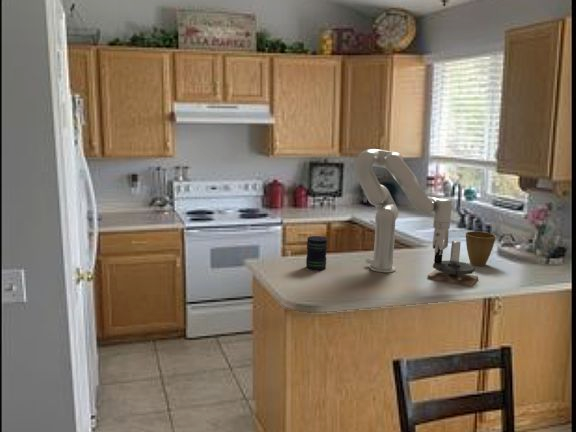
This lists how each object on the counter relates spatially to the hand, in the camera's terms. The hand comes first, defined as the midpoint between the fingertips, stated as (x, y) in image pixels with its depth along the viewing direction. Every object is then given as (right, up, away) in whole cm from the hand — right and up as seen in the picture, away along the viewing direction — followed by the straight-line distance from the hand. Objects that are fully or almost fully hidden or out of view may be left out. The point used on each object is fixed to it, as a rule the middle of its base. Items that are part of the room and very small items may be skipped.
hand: (437, 262), depth 269 cm
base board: (+6, -8, -3) cm, 10 cm away
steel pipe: (+6, -6, -3) cm, 9 cm away
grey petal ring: (+7, -3, -4) cm, 8 cm away
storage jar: (-58, -4, +7) cm, 58 cm away
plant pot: (+28, -3, +26) cm, 38 cm away
